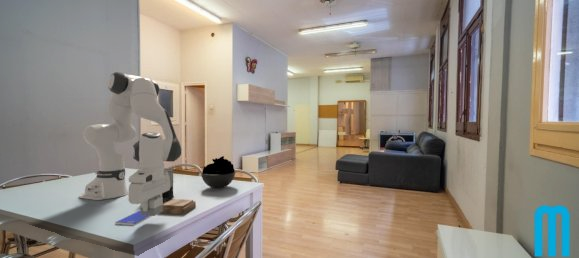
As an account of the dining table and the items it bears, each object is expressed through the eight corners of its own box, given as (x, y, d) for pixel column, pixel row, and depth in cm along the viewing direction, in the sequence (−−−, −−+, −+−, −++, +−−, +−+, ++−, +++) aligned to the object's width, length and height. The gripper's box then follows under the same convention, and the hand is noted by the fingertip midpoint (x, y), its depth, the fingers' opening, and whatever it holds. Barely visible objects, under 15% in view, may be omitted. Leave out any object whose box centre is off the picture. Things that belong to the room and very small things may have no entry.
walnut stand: (158, 213, 111) (158, 205, 111) (172, 205, 121) (172, 198, 121) (184, 214, 110) (184, 206, 110) (195, 206, 120) (195, 199, 120)
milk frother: (164, 194, 139) (164, 168, 139) (187, 197, 134) (187, 170, 134) (142, 202, 126) (141, 173, 126) (166, 206, 121) (166, 175, 120)
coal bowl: (217, 194, 140) (217, 161, 140) (194, 189, 150) (194, 158, 150) (242, 186, 157) (242, 156, 157) (219, 182, 168) (219, 154, 167)
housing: (140, 214, 99) (140, 199, 99) (149, 210, 104) (149, 195, 103) (154, 215, 98) (154, 200, 98) (162, 211, 103) (162, 196, 103)
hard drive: (134, 222, 98) (155, 211, 110) (115, 221, 99) (137, 210, 111) (134, 226, 98) (155, 215, 110) (115, 225, 99) (138, 214, 111)
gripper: (161, 168, 111) (161, 199, 111) (124, 178, 91) (125, 216, 91) (174, 168, 110) (174, 200, 111) (140, 179, 90) (140, 218, 90)
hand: (151, 207), depth 101 cm, fingers closed on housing, 5 cm apart
